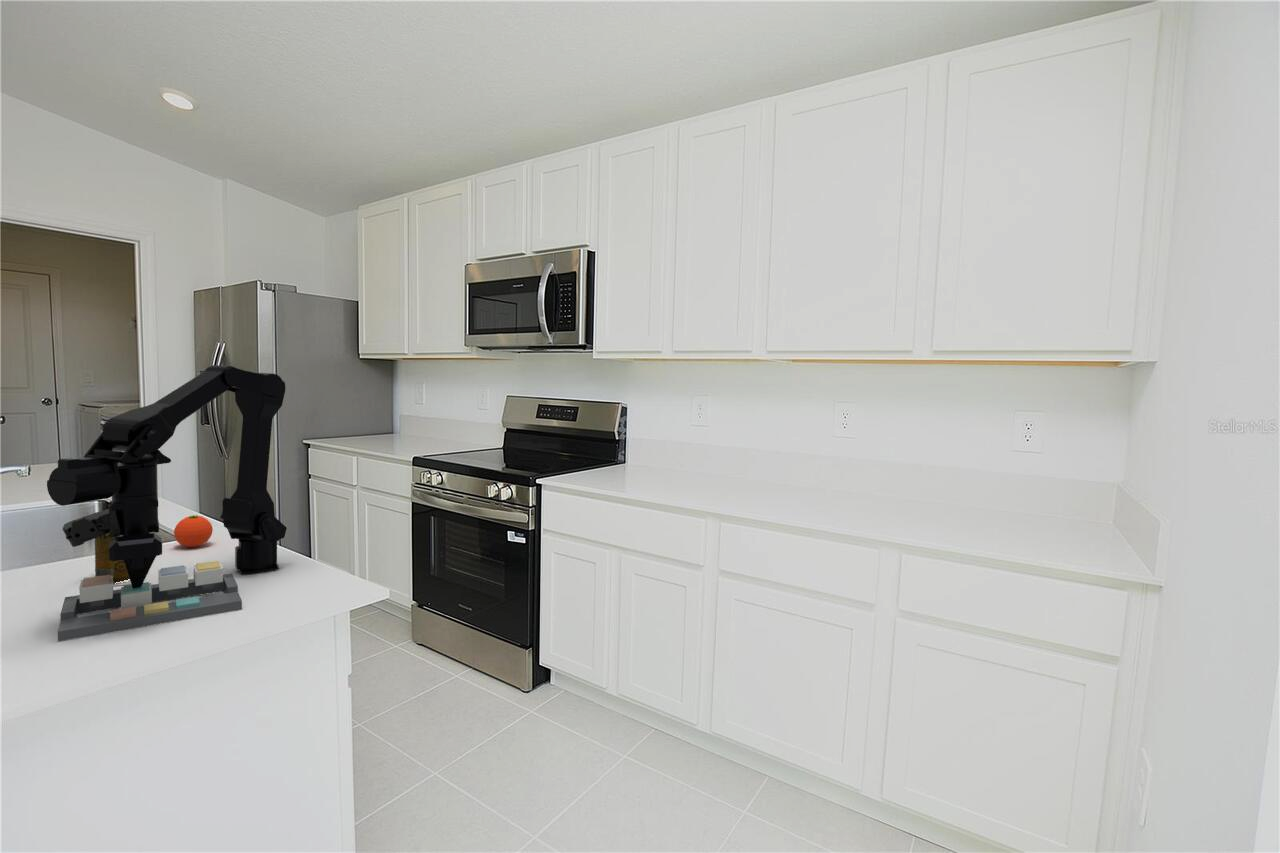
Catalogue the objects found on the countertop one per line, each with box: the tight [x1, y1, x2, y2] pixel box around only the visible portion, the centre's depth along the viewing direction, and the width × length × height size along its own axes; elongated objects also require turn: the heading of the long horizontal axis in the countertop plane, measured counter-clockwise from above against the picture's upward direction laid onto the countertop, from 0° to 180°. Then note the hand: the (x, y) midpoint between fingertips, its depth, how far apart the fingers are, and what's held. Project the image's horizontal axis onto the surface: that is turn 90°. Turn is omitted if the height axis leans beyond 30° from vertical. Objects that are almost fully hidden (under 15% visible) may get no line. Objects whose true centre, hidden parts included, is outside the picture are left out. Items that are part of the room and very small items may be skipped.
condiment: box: [93, 533, 131, 587], centre depth 111 cm, size 7×8×12 cm
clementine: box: [173, 514, 214, 548], centre depth 133 cm, size 8×7×7 cm
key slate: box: [157, 564, 189, 595], centre depth 101 cm, size 4×4×4 cm
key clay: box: [78, 575, 114, 607], centre depth 95 cm, size 4×4×4 cm
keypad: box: [57, 572, 243, 642], centre depth 99 cm, size 22×13×2 cm, turn 130°
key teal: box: [120, 581, 153, 609], centre depth 98 cm, size 4×4×4 cm
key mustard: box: [193, 560, 224, 590], centre depth 104 cm, size 4×4×4 cm
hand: (136, 587), depth 98 cm, fingers closed, pressing on key teal
